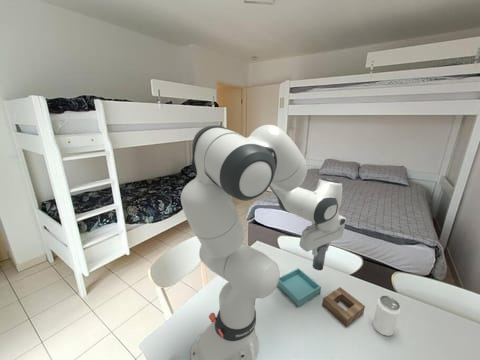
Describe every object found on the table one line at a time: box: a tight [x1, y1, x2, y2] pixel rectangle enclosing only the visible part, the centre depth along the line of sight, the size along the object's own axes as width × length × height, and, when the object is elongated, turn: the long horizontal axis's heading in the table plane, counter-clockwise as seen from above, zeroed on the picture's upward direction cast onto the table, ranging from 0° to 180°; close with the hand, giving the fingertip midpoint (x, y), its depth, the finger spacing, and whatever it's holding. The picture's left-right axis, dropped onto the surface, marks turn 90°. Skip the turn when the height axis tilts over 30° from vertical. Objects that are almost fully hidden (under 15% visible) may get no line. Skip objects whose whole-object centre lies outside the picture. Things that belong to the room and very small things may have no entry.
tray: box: [276, 267, 322, 309], centre depth 93 cm, size 13×13×4 cm
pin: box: [312, 244, 327, 271], centre depth 83 cm, size 4×4×10 cm
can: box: [371, 295, 401, 337], centre depth 76 cm, size 6×6×12 cm
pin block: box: [321, 286, 366, 328], centre depth 84 cm, size 11×11×4 cm
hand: (319, 252), depth 83 cm, fingers closed on pin, 4 cm apart
